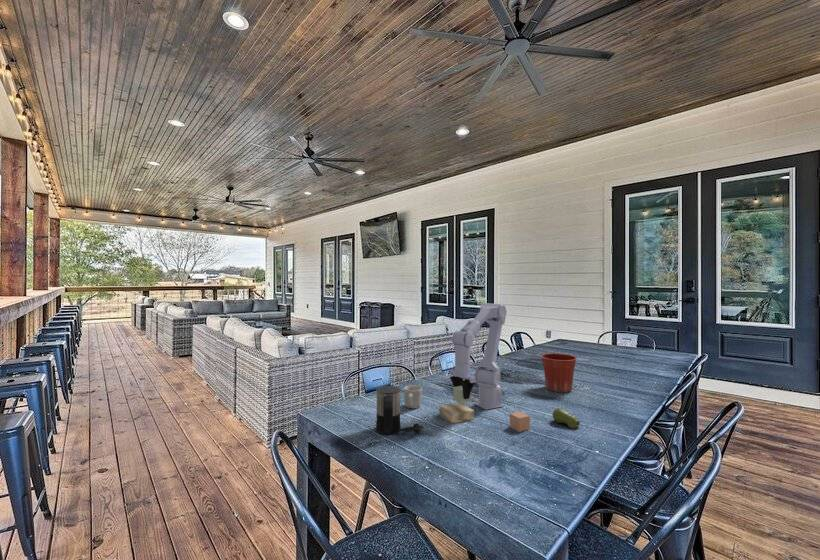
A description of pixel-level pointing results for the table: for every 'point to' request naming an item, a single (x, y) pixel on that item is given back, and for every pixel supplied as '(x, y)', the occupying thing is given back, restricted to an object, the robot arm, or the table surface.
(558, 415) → the pear
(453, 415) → the base block
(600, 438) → the table surface
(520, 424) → the terracotta cube
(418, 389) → the cup
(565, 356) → the flower pot
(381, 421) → the milk frother
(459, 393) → the sage cube
